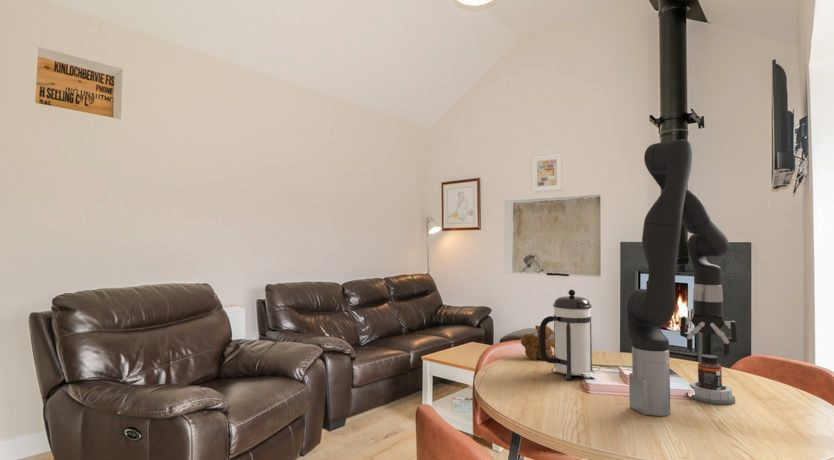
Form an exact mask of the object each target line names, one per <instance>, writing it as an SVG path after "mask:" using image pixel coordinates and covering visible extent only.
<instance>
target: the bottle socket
mask: <svg viewBox="0 0 834 460" xmlns="http://www.w3.org/2000/svg"><path fill="white" fill-rule="evenodd" d="M690 387H691V388H692V389H694V391H695V395H692V396H691V398H690V399H692V400H694V401H697V402H700V403H704V404H709V405H715V406H716V405H717V406H729V405H733V404H735V403H736V397H735V396H734V395H733V388H731V386H729V385H727V384H725V383H722V390H709V389H705V388H701V387H698V380H693V381H691V382H689V388H690Z"/></svg>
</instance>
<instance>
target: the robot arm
mask: <svg viewBox="0 0 834 460" xmlns="http://www.w3.org/2000/svg"><path fill="white" fill-rule="evenodd" d="M693 150H694V149H693V146H692V144H691V143H690V141H689V140H687V139H675V140H668V141H662V142H657V143H653V144H650V145H649V146H648V147H647V148H646V150H645V152H644V156H643V157H644V158H643V159H644V160H643V161H644V165H645V167H646V169H647V171H648V173H649V174H650V176H651V177H652V179H654V180H655V182H656V183H657V185H658V186H659V188H660V189H661V190H662V192H661V194H659V197H658V198H657V200H656V201H655V202H654V203H653V204H652V206H651V207H650V208H649V210H648V211H647V214H646V215H645V218H644V222H643V228H642V236H641V244H642V249H643V252H644V253H643V254H644V256H645V259H646V264H647V267H648V277H647V283H646V288H638V289H636V290H634V291H632V292H631V293H630V295H629V296H628V299H627V305H626V315H627V331H628V334H629V337H630V340H631V363H632V364H631V367H632V369H631V370H632V372H629V374H628V376H629V377H628V381H629V382H628V385H629V386H628V387H629V388H628V389H629V391H628V392H629V408H631V409H632V410H634V411H636V412H638V413H640V414H641V415H644V416H645V415H646V416H653V417H654V416H655V417H665V416H669V415H670V414H671V380H670V379H671V378H670V377H671V376H670V375H671V370H670V342H669V339H668V337H667V336H666V335H665V334H664V333H663V331H662V329H661V326H664V325H666V324H667V323H670V321H671V319H672V318H673V316H674V313H675V308H676V305H675V304H676V274H677V273H676V272H677V263H678V253H679V245H680V240H681V239H680V238H681V234H682V232H681V231H682V225H683V227H684V230H686V231H687V232H688V233H690V234H691V235H690V236H689V238H688V240H687V244H686V247H687V251H688V255H689V258H690V260H691V261H690V262H691V264H692V269H693V290H692V306H693V307H692V317H687V316H685V315H682V317H681V318H680V331H679V334H680V337H682V338H683V337H684V338H686V348H687V350H689V352H690V353H693V351H694V348H693V347H694V345H693V344H694V342H693V341H694V339H693V338H694V336H696V335H697V334H698V333H701V334H709V335H714V334H715V335H716V334H717V335H718V337H719V338H721V340H722V341H723V344H722V345H723V349H722V350H723V351H722V353H723V357H727V356H729V354H730V344H732V343H737V341H738V338H737V335H738V334H737V324H736V321H735V320H725V319H724V311H723V310H724V303H723V301H724V296H723V295H724V292H723V287H722V285H723V284H722V280H723V279H722V267H720V266H719V265H717V264H712V263H710V262H708V260H707V258H706V257H715V258H716V257H717V258H718V257H723V256H725V255H727V253H728V251H729V249H730V243H729V240H728V237H727V235H726V234H725V233H724V232H723V231H722V229H721V228H720V227H719V226H718V225H717V224H716V223H715V222H714V221H713V220H712V219H711V217H710V214H709V213H708V211H707V209H706V205H705V204H704V202H703V200H701V198H699V196H698V195H696V194H695V193H694V192H693V191H692V190H690V189H689V188H688V184H689V181H690V178H691V177H690V176H691V173H692V169H693V168H692V167H693V161H694V151H693ZM690 322H691V323H692V325H694V328H693V329H692V330H691V331H690V332H689V333H687V332H686V330H687V329H686V328H687V325H688V324H689V323H690ZM724 326H726V327H727V328H728V329H730V333H731V334H730V335H731V337H727V335H726V334H725V332H723V330H722V328H724Z"/></svg>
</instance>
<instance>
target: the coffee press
mask: <svg viewBox="0 0 834 460" xmlns="http://www.w3.org/2000/svg"><path fill="white" fill-rule="evenodd" d="M567 293H568V295H569V296H560V297H557V298H556V299H555V300H554V303H553V304H552V307H553V309H554V311H553V313H554V314H553V316H552V315H550V316H547V317H545V318H543V319H542V321H541V323H540V325H539V326H540V332H539V339H540V355H541V357H542V359H543V360H542V361H544V362H546V363H548V364H554V366H553V367H552V369H550V371H551V373H552V374H556V373H557V372H559V373H561V374H564V375H566V376H565V379H566V381H568V380H569V381H568V382H571V381H572V377H573V376H582V375H581V374H582V373H586V372H590V371H591V372H592V371H593V372H594V370H593V351H592V350H593V348H592V347H593V345H592V344H593V343H592V334H593V333H592V315H591V313H592V312H593V309H592V304H591V303H590V301H589V300H588V299H587V298H585V297H582V296H575V294H576V291H575V290H574V289H569V290H568V292H567ZM551 322H553V331H554V332H553V334H554V336H553V337H554V338H553V340H554V346H553V347H554V349H553V350H554V354H553V355H554V356H555V358H548V357H547V355H546V347H545V329H546V326H548V324H549V323H551ZM554 368H555V369H556V371H554ZM591 372H590V373H591Z"/></svg>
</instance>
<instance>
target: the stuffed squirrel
mask: <svg viewBox="0 0 834 460" xmlns="http://www.w3.org/2000/svg"><path fill="white" fill-rule="evenodd" d="M534 327H535V329H536V333H537V336H536V334H533V333H525V334H523V335H522V337H520V338H519V339H520V344H521V346H522V347H524V350H525V351H524V353H525V355H526V356H527V357H528V359H530V360H532V359H534V360H533V361H536V360H541V359H542V357H541V355H540V339H539V332H540V325H535V326H534ZM551 336H553V337H554V332H553V331H552V328H551V327H549V326H548V325H546V329H545V347H546V355H547V357H548V358H555V356H554V354H553V350H552V347H554V339H552V340H551V339H550V338H549V337H551ZM535 359H536V360H535ZM541 361H544V360H543V359H542V360H541Z"/></svg>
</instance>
